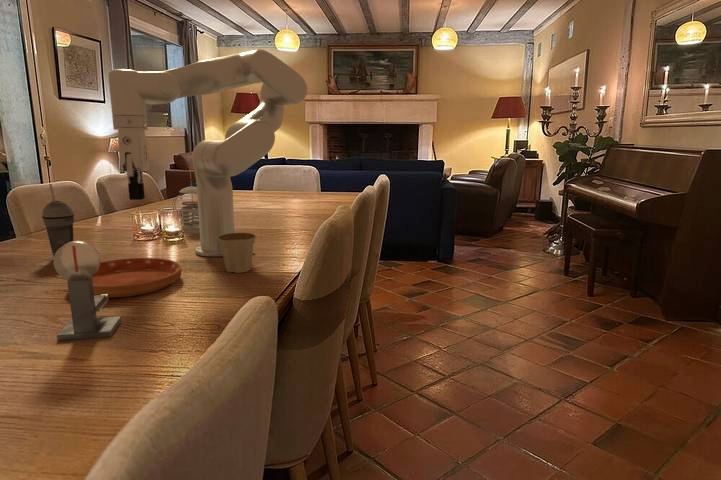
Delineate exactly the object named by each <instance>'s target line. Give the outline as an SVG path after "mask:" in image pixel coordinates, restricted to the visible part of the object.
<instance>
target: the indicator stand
mask: <svg viewBox="0 0 721 480" xmlns="http://www.w3.org/2000/svg"><path fill="white" fill-rule="evenodd" d="M101 262H102V261H101V255H100V253H99V251H98V249H97V248H96V247H95V246H94V245H92V244H90V243H89V242H87V241H83V240H73V241H72V242H69V243H67V244H65V245H63V246H62V247H60V248H59V249H58V250H57V251H56V253H55V255H54V257H53V261H52V263H53V267H54V269H55V271H56V273H57V274H58V275H60V277H62V278H63V279H64V280H66V283H67V288H68V289H67V290H68V297H69V305H70V310H71V311H70V312H71V313H70V314H71V319H70V320H69V322H68V323H66V325H65V326H64V327H63V328H62V329H61V330H60V331H59V332H57V334H56V340H57V342H59V341H58V340H63V341H74V340H86V339H87V340H88V339H100V338H111V337H112V336H113V335H114V333H115V332H116V330H117V329H118V328H119V326H120V324H121V322H122V316H120V315H119V316H118V315H117V316H105V317H97V312H99V311H98V309H99V308H100V307H101V306H102V305H103V304H104V302H105V301H106V295H96V296H94V291H93V283H92V277H91V276H93V275H94V274H95V273H96V272H97V271H98V269H99V267H100V263H101ZM67 280H68V281H67Z"/></svg>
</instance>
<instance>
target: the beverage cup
mask: <svg viewBox="0 0 721 480" xmlns="http://www.w3.org/2000/svg"><path fill="white" fill-rule="evenodd" d="M48 185H49V189H50V193H51V197H52V201H50V202H48V203H46V204H45V206H44V208H43V210H42V216H41V217H42V219H43V220H42V221H43V223H44V226H45V228H46V232H47V237H48V241H49V246H50V249H51V254H52V256H53V258H54V255H55V253H56V251H57V250H58V249H59V248H60V247H62V246H63V245H65V244H67V243H69V242H72V241H74V223H75V214H74V211H73V209H72V207H71V206H70V205H69V204H68V203H67V202H65V201H62V200H56V197H55V193H54V189H53V185H52V183H49V184H48Z"/></svg>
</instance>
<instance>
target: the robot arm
mask: <svg viewBox="0 0 721 480" xmlns="http://www.w3.org/2000/svg"><path fill="white" fill-rule="evenodd" d="M306 82H307V81H306V80H305V78H304V77H303V76H302V75H301V74H300V73H299V72H297V71H296V70H295V69H294V68H292V67H291V66H289V65H288V64H287V63H285V62H284V61H283V60H281V59H279V58H278V57H277V56H275V54H273V53H271V52H269V51H267V50H264V49H254V50H249V51H245V52H239V53H234V54H229V55H225V56H224V55H223V56H219V57H214V58H208V59H204V60H199V61H196V62H194V63H190V64H187V65H184V66H181V67H175V68H172V69H167V70H161V71H138V70H134V69H127V68H121V69H120V68H117V69H112V70H110V71H109V73H108V84H109V85H108V87H109V88H108V89H109V96H110V106H111V115H112V116H111V117H112V126H113V130H116V131H117V141H118V154H119V155H118V157H119V164H120V169H121V170H122V171H123V172H126V178H127V184H128V196H129V200H131V201H136V200H137V201H139V200H141V201H142V200H145V198H146V197H145V185H144V174H143V173H144V172H145V171H147V170H149V169H150V167H151V166H150V159H149V158H150V157H149V151H148V150H149V149H148V143H147V135H146V131H148V130H149V129H148V128H149V127H148V118H147V117H148V115H147V105H152V106H153V105H155V106H156V105H164V104H165V105H166V104H170V103H173V102H174V101H176V100H177V99H182V98H186V97H187V98H188V97H192V96H193V97H194V96H205V95H207V96H208V95H211V94H216V93H217V94H218V93H220V92H225V91H228V90H232V89H237V88H240V87H245V86H250V85H253V84H260V83H262V84H261V88H260V100H259V104H258V106H257V108H255V109H253V110H252V111H251V112H250V113H249V114H246V115H245V116H243V117H242V118H241V119H239V120H237V121H235V122H234V123H232V124H231V125H229V127H228V128H227V130H226V132H225V135H224V136H225V137H224V139H217V138H215V139H213V138H211V139H210V138H209V139H205V140H201V141H200V142H199V143H197V145H195V146H194V148H193V150H192V155H191V159H192V168H193V171H194V178H195V182H196V187H197V201H198V211H199V220H198V221H199V226H200V232H199V238H200V239H199V240H200V245H199V246H197V247H196V248H195V249H194V250H195V251H194V252H195V254H196V255H198V256H201V257H209V258H210V257H213V258H214V257H215V258H216V257H223V253H222V248H221V245H220V244H219V240H218V239H217V237H218V236H220V235H223V234H228V233H236V232H235V214H234V213H235V211H234V191H233V184H232V180H231V177H235V176H237V175H239V174H241V173H243V172H245V171H246V170H247V169H249V168H250V167H252V166H253V165H255V163H257V162H258V161H260V160H261V159H262V158H264V157H265V156H266V155H268V154H269V153H270V151H271V150H272V148H273V147H274V145H275V142H276V140H275V139H276V135H275V133H276V132H277V131H278V130H279V129H280V128H281V126H282V125H283V121H284V113H285V112H284V111H285V107H284V106H286V105H287V106H290V105H291V106H292V105H298V104H300V103H301V102H303V101H304V100H305V98H306V97H307V95H308V85H307V83H306Z"/></svg>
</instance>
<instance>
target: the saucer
mask: <svg viewBox="0 0 721 480" xmlns="http://www.w3.org/2000/svg"><path fill="white" fill-rule="evenodd" d="M181 276H182V265H181V264H180V263H178V262H177V261H175V260H171V259H167V258H159V257H158V258H157V257H156V258H155V257H135V258H134V257H131V258H119V259H111V260H105V261H104V260H103V261H101V263H100V267H99V269H98V271H97V272H96V273H95V274H94V275H93V276H91V277H92V283H93V291H94V296H96V295H101V294H108V298H112V299H113V298H124V297H125V298H127V297H134V296H139V295H144V294H150V293H152V292H156V291H159V290H162V289H164V288H166V287H169V286H170V285H171V284H173V282H176V281H177V280H178V279H179V278H181ZM67 281H68V280H67V279H66V282H67Z"/></svg>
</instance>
